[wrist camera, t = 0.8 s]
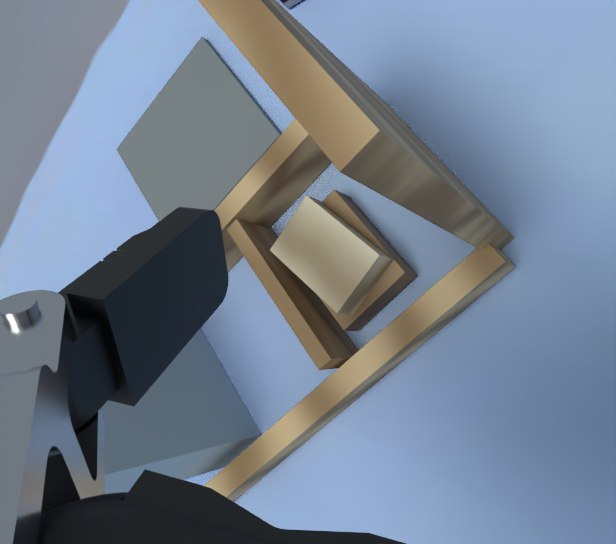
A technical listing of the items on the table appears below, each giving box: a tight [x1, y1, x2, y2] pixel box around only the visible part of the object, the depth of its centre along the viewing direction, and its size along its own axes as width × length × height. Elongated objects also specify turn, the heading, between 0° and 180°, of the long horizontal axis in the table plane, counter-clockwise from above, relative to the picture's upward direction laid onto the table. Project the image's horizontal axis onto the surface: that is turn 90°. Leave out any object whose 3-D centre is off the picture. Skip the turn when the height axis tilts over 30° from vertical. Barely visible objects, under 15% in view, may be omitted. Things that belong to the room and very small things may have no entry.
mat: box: [117, 37, 281, 221], centre depth 42 cm, size 12×12×1 cm
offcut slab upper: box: [270, 195, 394, 314], centre depth 32 cm, size 4×6×2 cm, turn 50°
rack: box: [198, 0, 515, 502], centre depth 29 cm, size 26×14×18 cm, turn 128°
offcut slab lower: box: [319, 190, 417, 331], centre depth 34 cm, size 5×7×2 cm
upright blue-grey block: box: [101, 328, 261, 494], centre depth 32 cm, size 4×10×18 cm, turn 38°
